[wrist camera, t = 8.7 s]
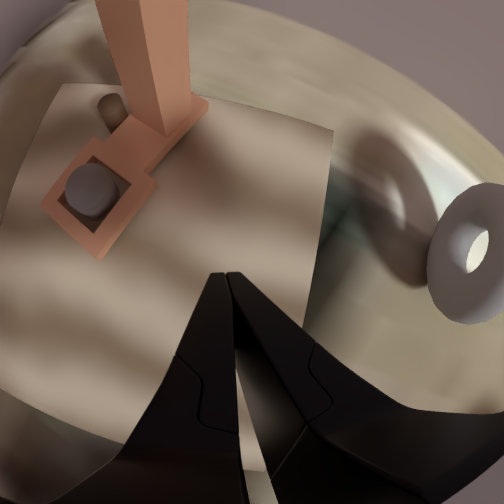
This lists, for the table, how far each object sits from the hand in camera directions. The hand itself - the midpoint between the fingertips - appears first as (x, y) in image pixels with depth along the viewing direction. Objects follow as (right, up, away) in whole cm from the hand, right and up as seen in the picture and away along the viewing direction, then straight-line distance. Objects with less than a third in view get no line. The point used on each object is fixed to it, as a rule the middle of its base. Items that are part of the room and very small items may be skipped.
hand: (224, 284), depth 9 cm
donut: (+15, 0, +13) cm, 20 cm away
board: (-7, 0, +9) cm, 12 cm away
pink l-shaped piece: (-7, +7, +9) cm, 13 cm away
